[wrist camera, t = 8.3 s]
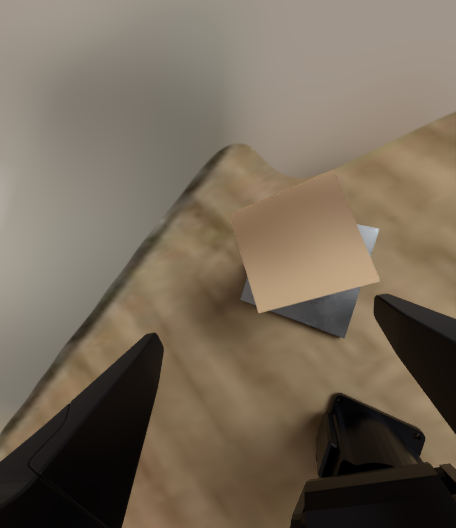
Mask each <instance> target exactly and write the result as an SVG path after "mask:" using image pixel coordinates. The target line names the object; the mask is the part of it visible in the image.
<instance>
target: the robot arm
mask: <svg viewBox="0 0 456 528" xmlns="http://www.w3.org/2000/svg"><path fill="white" fill-rule="evenodd" d="M374 317H375V319H376V321H377V322H378V324H379V326H380V327H381V329H382V331H383V332H384V334H385V336H386V337H387V339H388V341H389V343H390V344H391V346H392V348H393V349H394V351H395V352H396V354H397V355H398V357H399V358H400V360H401V361H402V362H403V364H404V365H405V366H406V368H407V369H408V371H409V372H410V373H411V375H412V376H413V377H414V379H415V380H416V381H417V383H418V384H419V385H420V387H421V388H422V389H423V391H424V392H425V394H426V395H427V396H428V398H429V399H430V400H431V402H432V403H433V404H434V406H435V407H436V408H437V410H438V411H439V412H440V414H441V415H442V416H443V418H444V419H445V421H446V422H447V423H448V425H449V426H450V427H451V429H452V430H453V431H454V433H455V434H456V319H454V318H452V317H449V316H446V315H443V314H441V313H438V312H435V311H433V310H430V309H427V308H425V307H422V306H419V305H417V304H414V303H411V302H409V301H406V300H403V299H401V298H398V297H395V296H393V295H390V294H381V295H377V296H375V298H374ZM163 353H164V348H163V345H162V343H161V341H160V339H159V337H158V335H157V334H156V333H149V334H146V335H145V336H144V337H143V338H141V339H140V340H139V341H138V342H137V343H136V344H135V345H134V346H133V347H131V348H130V349H129V350H128V351H127V352H126V353H125V354H124V355H122V356H121V357H120V358H119V359H118V360H117V361H116V362H115V363H114V364H112V365H111V366H110V367H109V368H108V369H107V370H106V371H105V372H104V373H102V374H101V375H100V376H99V377H98V378H97V379H96V380H95V381H93V382H92V383H91V384H90V385H89V386H88V387H87V388H86V389H85V390H83V391H82V392H81V393H80V394H79V395H78V396H77V397H76V398H75V399H73V400H72V401H71V403H70V404H68V405H67V406H66V407H64V408H63V409H62V410H61V411H60V412H59V413H58V414H57V415H56V416H54V417H53V418H52V419H51V420H50V421H49V422H48V423H46V424H45V425H44V426H43V427H42V428H41V429H39V430H38V431H37V432H36V433H35V434H33V435H32V436H31V437H30V438H29V439H27V440H26V441H25V442H24V443H23V444H21V445H20V446H19V447H18V448H16V449H15V450H14V451H13V452H12V453H10V454H9V455H8V456H7V457H5V458H4V459H3V460H2V461H1V462H0V528H122V524H123V521H124V517H125V513H126V509H127V505H128V501H129V497H130V494H131V490H132V486H133V482H134V478H135V474H136V470H137V467H138V463H139V459H140V455H141V451H142V447H143V443H144V439H145V436H146V432H147V428H148V424H149V420H150V416H151V412H152V409H153V405H154V401H155V397H156V393H157V389H158V384H159V379H160V372H161V366H162V359H163ZM339 398H343V399H344V401H343V402H340V401H338V399H339ZM414 433H418V434H419V436H418V437H414V436H413V435H414ZM424 442H425V436H424V434H423V433H422V431H421V430H420V429H419V428H417V427H415V426H413V425H411V424H408V423H406V422H404V421H402V420H400V419H397V418H395V417H393V416H391V415H389V414H386V413H384V412H382V411H380V410H378V409H375V408H373V407H371V406H369V405H367V404H364V403H362V402H360V401H358V400H356V399H353V398H351V397H349V396H347V395H345V394H342V393H337V394H336V395H335V397H334V400H333V403H332V406H331V409H330V412H329V413H325V414H324V416H323V419H322V422H321V425H320V429H319V432H318V435H317V438H316V447H317V453H316V461H317V469H318V475H319V478H318V479H311V480H309V481H307V482H306V484H305V486H304V488H303V491H302V493H301V495H300V498H299V500H298V503H297V505H296V507H295V510H294V512H293V515H292V519H291V526H290V528H456V469H455V468H454V467H453V466H452V465H451V464H443V465H439V466H440V467H437V468H433V467H432V466H431V464H430V463H428V462H425V463H423V461H422V459H421V458H420V454H421V451H422V448H423V445H424Z"/></svg>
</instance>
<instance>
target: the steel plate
mask: <svg viewBox="0 0 456 528" xmlns="http://www.w3.org/2000/svg"><path fill="white" fill-rule="evenodd" d="M357 226H358V229H359V231H360V234H361V236H362V238H363V241H364V243H365V245H366V248H367V250H368V253H369V255H370V257H371V253H372V250H373V247H374V244H375V241H376V238H377V235H378V231H379V229H378V228H373V227H368V226H362V225H357ZM360 288H361V286H360V287H356V288H352V289H349V290H345V291H341V292H337V293H334V294H330V295H326V296H322V297H318V298H315V299H311V300H307V301H303V302H300V303H296V304H292V305H288V306H285V307H281V308H277V309H273V310H269V311H272V312H274V313H277V314H280V315H282V316H285V317H288V318H291V319H293V320H296V321H299V322H301V323H304V324H307V325H309V326H312V327H315V328H318V329H320V330H323V331H326V332H328V333H331V334H334V335H336V336H339V337H342V338H345V335H346V332H347V329H348V326H349V322H350V319H351V316H352V313H353V310H354V307H355V304H356V300H357V297H358V294H359V291H360ZM240 300H242V301H245V302H247V303H250V304H253V305H255V306H256V303H255V300H254V296H253V293H252V290H251V286H250V283H249V280H248V277H247V280H246V283H245V286H244V289H243V293H242V296H241V299H240Z"/></svg>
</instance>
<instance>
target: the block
mask: <svg viewBox="0 0 456 528" xmlns="http://www.w3.org/2000/svg"><path fill="white" fill-rule="evenodd" d="M229 217H230V220H231V223H232V227H233V230H234V233H235V237H236V240H237V243H238V247H239V250H240V253H241V257H242V260H243V263H244V267H245V270H246V273H247V277H248V280H249V283H250V286H251V290H252V293H253V296H254V300H255V303H256V306H257V310H258V313H262V312H266V311H269V310H273V309H277V308H281V307H285V306H288V305H292V304H296V303H300V302H303V301H307V300H311V299H315V298H318V297H322V296H326V295H330V294H334V293H337V292H341V291H345V290H349V289H352V288H356V287H360V286H364V285H367V284H371V283H375V282H379V281H380V279H379V277H378V274H377V272H376V269H375V267H374V265H373V262H372V260H371V257H370V255H369V253H368V250H367V248H366V245H365V243H364V241H363V238H362V236H361V234H360V231H359V229H358V226H357V224H356V222H355V219H354V217H353V214H352V212H351V210H350V207H349V205H348V202H347V200H346V198H345V195H344V193H343V191H342V188H341V186H340V183H339V181H338V179H337V176H336V174H335V171H334V169H333V170H331V171H328V172H326V173H324V174H321V175H319V176H317V177H315V178H312V179H310V180H308V181H305V182H303V183H301V184H298V185H296V186H294V187H291V188H289V189H287V190H284V191H282V192H280V193H277V194H275V195H273V196H270V197H268V198H266V199H263V200H261V201H259V202H256V203H254V204H252V205H249V206H247V207H245V208H242V209H240V210H238V211H236V212H233V213H231V214H229Z"/></svg>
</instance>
